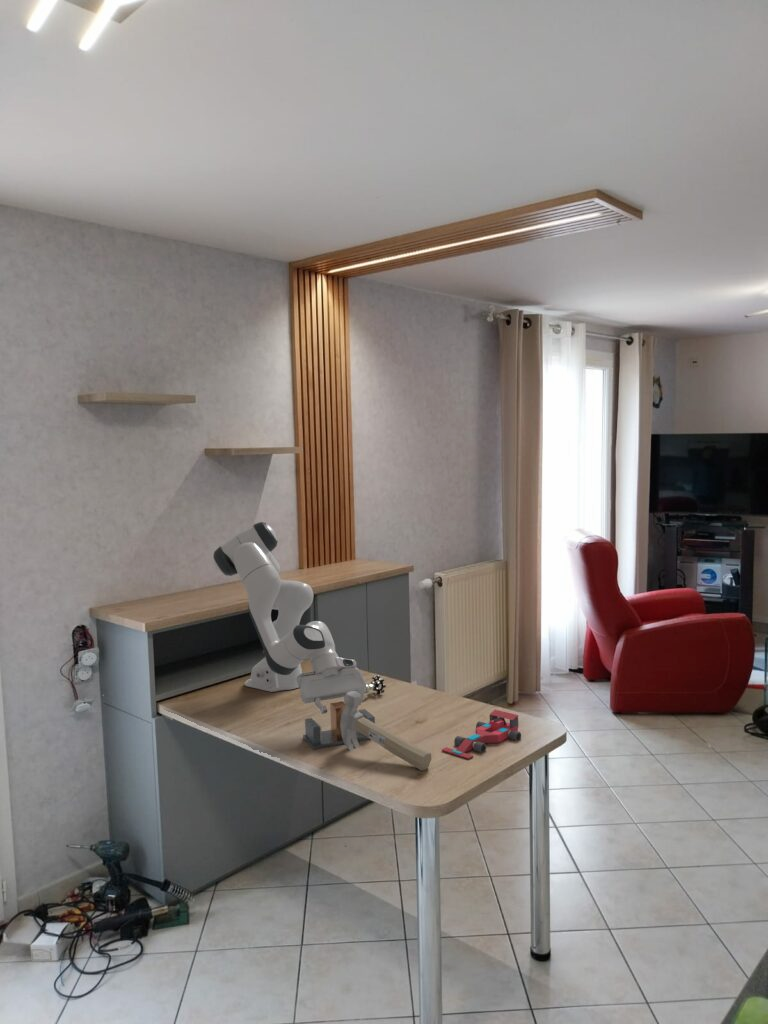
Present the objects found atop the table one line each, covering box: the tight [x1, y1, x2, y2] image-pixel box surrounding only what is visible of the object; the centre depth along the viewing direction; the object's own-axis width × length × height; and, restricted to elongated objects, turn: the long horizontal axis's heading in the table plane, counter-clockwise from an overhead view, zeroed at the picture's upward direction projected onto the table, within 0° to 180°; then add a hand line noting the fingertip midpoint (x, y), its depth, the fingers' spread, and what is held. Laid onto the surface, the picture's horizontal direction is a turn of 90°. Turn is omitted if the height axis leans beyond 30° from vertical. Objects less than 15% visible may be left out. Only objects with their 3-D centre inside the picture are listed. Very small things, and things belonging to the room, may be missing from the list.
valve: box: [361, 674, 387, 702], centre depth 264 cm, size 7×7×12 cm
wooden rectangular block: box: [329, 701, 346, 738], centre depth 227 cm, size 5×4×9 cm
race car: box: [441, 709, 522, 760], centre depth 220 cm, size 14×6×25 cm
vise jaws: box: [302, 708, 376, 750], centre depth 227 cm, size 10×20×6 cm, turn 113°
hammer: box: [340, 691, 432, 771], centre depth 211 cm, size 16×5×30 cm
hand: (339, 710), depth 228 cm, fingers open, 8 cm apart
